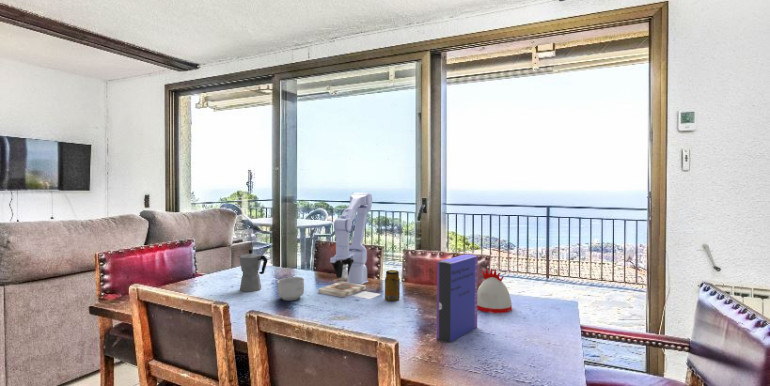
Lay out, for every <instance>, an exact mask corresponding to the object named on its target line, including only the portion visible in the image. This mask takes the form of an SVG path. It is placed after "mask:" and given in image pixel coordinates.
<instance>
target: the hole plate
mask: <svg viewBox="0 0 770 386" xmlns="http://www.w3.org/2000/svg"><path fill="white" fill-rule="evenodd" d="M364 290H367V285H366V284H365V285H364V284H361V285H360V284H354V283H348V281H338V282H335V283H332V284H330V285H329V284H328V285H326V286H324V287H319V288H318V289H317V291H318V293H319V294H324V295H329V296H334V297H335V296H336V297H340V298H346V297H349V296H353V295H356V294H358V293H361V292H364Z"/></svg>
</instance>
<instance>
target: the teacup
mask: <svg viewBox="0 0 770 386" xmlns="http://www.w3.org/2000/svg"><path fill="white" fill-rule="evenodd" d="M276 285H277V292H278V293H277V294H278V296H279V297H280V298H281V299H282V300H283V301H290V302H291V301H297V300H299V299H300V298H301V297H302V296H303V294H304V292H305V278H304V277H300V276H289V277H284V278H280V279H279V280H277V281H276Z"/></svg>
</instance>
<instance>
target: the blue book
mask: <svg viewBox="0 0 770 386" xmlns="http://www.w3.org/2000/svg"><path fill="white" fill-rule="evenodd" d="M478 263H479V257H478V255H474V254H462V255H458V256H454V257H451V258H446V259H442V260H439V261H437V262H436V340H438V341H442V342H446V343H449V344H451V343H453V342H454V341H456V340H458V339H460V338H461V337H463V336H465V335H467V334H469V333H470V332H472V331H474V330H475V329H477V328H478V309H477V291H478V287H479V286H478V283H479V282H478V281H479V279H478V275H479V274H478V272H479V268H478V267H479V266H478V265H479V264H478Z"/></svg>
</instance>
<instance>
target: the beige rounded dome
mask: <svg viewBox="0 0 770 386" xmlns="http://www.w3.org/2000/svg"><path fill="white" fill-rule="evenodd" d="M481 272H482V275H483V278H484V280H483V281H482V282H481V284H480V285H479V286H477V311H481V312H485V313H488V314H489V313H490V314H505V313H510V312H511V311H512V309H513V308H512V307H513V304H512V299H511V296H510V293H509V290H508V287H507V286H506V284H505V283H504V281H503V280H504V275H503V276H501V278H500V275H501V272H498V273H497V269H496V268H495V269H494V270H493V268H491V269H490V271H489V269H488V268H485V272H484V271H481Z"/></svg>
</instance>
